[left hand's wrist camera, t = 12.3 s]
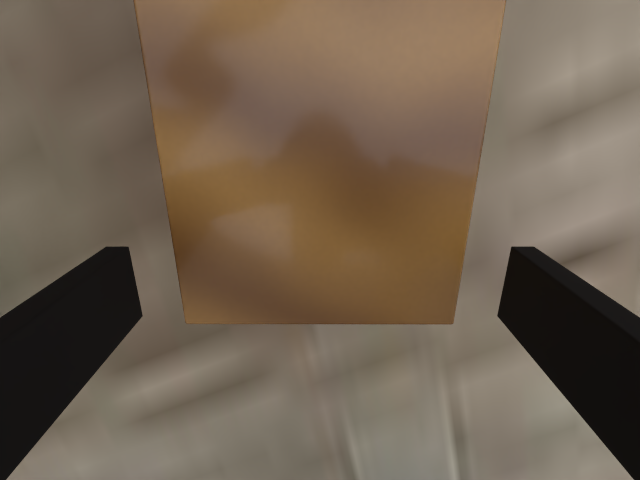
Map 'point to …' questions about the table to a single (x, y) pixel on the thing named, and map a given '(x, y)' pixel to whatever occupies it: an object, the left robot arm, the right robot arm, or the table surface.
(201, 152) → the tan rectangular mottled block
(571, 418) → the table surface
